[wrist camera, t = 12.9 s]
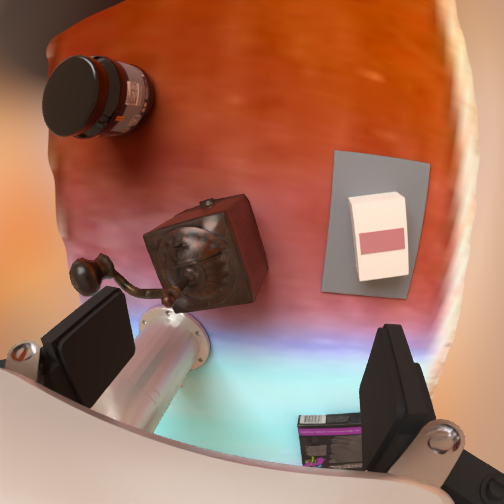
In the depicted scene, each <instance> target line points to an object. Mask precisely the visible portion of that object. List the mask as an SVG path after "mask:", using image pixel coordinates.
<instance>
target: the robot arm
mask: <svg viewBox="0 0 504 504" xmlns="http://www.w3.org/2000/svg"><path fill="white" fill-rule="evenodd" d="M41 341H42V343H43V347H42V348H40V346H39V344H38V343H37V342H35V341H31V340H30V341H28V340H27V341H22V342H19V343H17V344H15V345H14V346H13V347H12V348H11V349H10V350H9V352H8V355H7V359H4V360H0V504H504V474H503V473H501V472H500V471H498V470H496V469H495V468H493V467H492V466H490V465H488V464H486V463H485V462H483V461H482V460H480V459H478V458H477V457H475V456H474V455H472V454H471V453H469V452H467V451H466V450H464V445H465V436H464V433H463V431H462V430H461V429H460V427H459V426H458V425H456V424H455V423H453V422H451V421H448V420H443V419H438V420H436V416H435V413H434V409H433V405H432V402H431V398H430V395H429V392H428V388H427V385H426V382H425V379H424V376H423V372H422V369H421V367H420V365H419V364H418V363H414V362H413V358H412V355H411V352H410V349H409V346H408V343H407V340H406V337H405V335H404V332H403V329H402V326H401V325H398V324H384V326H383V328H378V330H377V333H376V337H375V340H374V343H373V347H372V350H371V353H370V357H369V360H368V363H367V366H366V369H365V372H364V375H363V378H362V381H361V384H360V389H359V398H360V413H361V434H362V468H363V470H367V471H354V470H341V469H326V468H314V467H305V466H296V465H289V464H281V463H274V462H267V461H261V460H255V459H250V458H244V457H239V456H234V455H229V454H225V453H220V452H216V451H212V450H208V449H204V448H200V447H196V446H193V445H189V444H185V443H182V442H178V441H175V440H172V439H168V438H165V437H162V436H159V435H156V434H153V433H154V431H155V429H156V427H157V426H158V424H159V422H160V420H161V419H162V417H163V415H164V413H165V412H166V410H167V408H168V406H169V405H170V403H171V401H172V399H173V398H174V396H175V394H176V393H177V391H178V389H179V387H182V386H184V379H185V377H186V375H187V373H188V372H189V370H193V369H196V368H198V367H200V366H201V365H202V364H204V362H205V361H206V359H207V357H208V355H209V352H210V342H209V339H208V336H207V334H206V332H205V330H204V328H203V327H202V326H201V324H200V323H199V322H198V321H197V320H196V319H195V318H193V317H192V316H191V315H190V314H188V313H180V314H175V312H174V310H173V308H172V307H171V308H167V307H165V306H164V305H161V306H155V307H153V308H150V309H149V310H148V311H147V312H146V313H145V314H144V315H143V316H142V318H141V319H140V323H139V335H138V336H137V337H136V338H135V339H134V338H133V334H132V329H131V324H130V319H129V314H128V309H127V304H126V298H125V295H124V293H122V291H121V289H119V288H115V287H111V286H106V287H104V288H103V289H102V290H100V291H99V292H98V293H96V294H95V295H94V296H93V297H91V298H90V299H89V300H88V301H86V302H85V303H84V304H82V305H81V306H80V307H79V308H77V309H76V310H75V311H74V312H72V313H71V314H70V315H69V316H67V317H66V318H65V319H64V320H62V321H61V322H60V323H59V324H58V325H56V326H55V327H54V328H53V329H51V330H50V331H49V332H48V333H47V334H45V335H44V336H43V337H42V338H41Z"/></svg>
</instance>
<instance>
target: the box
mask: <svg viewBox="0 0 504 504" xmlns="http://www.w3.org/2000/svg"><path fill="white" fill-rule="evenodd" d="M297 426H298V432H299V439H300V447H301V456H302V464H303V466H305V467H314V468H326V469H341V470H354V471H366V470H363V468H362V434H361V413H347V414H330V415H299V419H298V424H297Z"/></svg>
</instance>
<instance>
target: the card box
mask: <svg viewBox="0 0 504 504" xmlns="http://www.w3.org/2000/svg"><path fill="white" fill-rule="evenodd" d="M348 200H349V207H350V215H351V223H352V231H353V240H354V249H355V259H356V269H357V273H358V277H359V281H366V280H373V279H381V278H388V277H395V276H402V275H409V265H408V236H407V219H406V207H405V197H403V196H402V195H400V194H399V193H397V192H388V193H380V194H372V195H364V196H357V197H349V198H348Z"/></svg>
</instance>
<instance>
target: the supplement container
mask: <svg viewBox="0 0 504 504" xmlns="http://www.w3.org/2000/svg"><path fill="white" fill-rule="evenodd" d="M153 98H154V90H153V85H152V82H151V79H150V77H149V76H148V74H147V73H146V72H145V71H144V70H143V69H141V68H140V67H138V66H135V65H131V64H126V63H123V62H119V61H116V60H112V59H110V58H108V57H105V56H101V55H94V56H90V57H87V56H83V55H75V56H71V57H69V58H67V59H65V60H64V61H62V62H61V63H60V64H59V65H58V66H57V67H56V68H55V70H54V71H53V72H52V74H51V75H50V77H49V79H48V81H47V84H46V86H45V89H44V93H43V101H42V111H43V117H44V120H45V123H46V125H47V126H48V128H49V129H50V131H51V132H53V133H54V134H56V135H58V136H62V137H67V136H73V137H75V138H78V139H90V138H93V137H105V136H124V135H127V134H129V133H131V132H133V131H135V130H136V129H137V128H139V127H140V126H141V125H142V123H143V122H144V121H145V120H146V118H147V117H148V115H149V113H150V110H151V108H152V104H153Z"/></svg>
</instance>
